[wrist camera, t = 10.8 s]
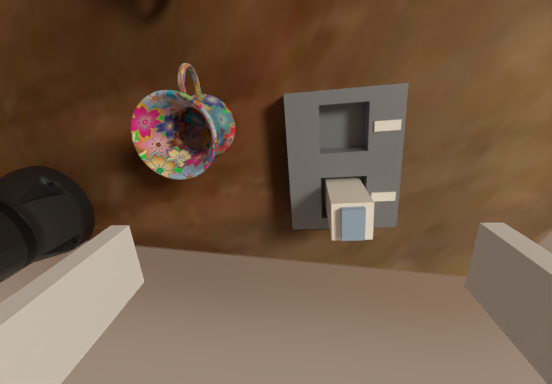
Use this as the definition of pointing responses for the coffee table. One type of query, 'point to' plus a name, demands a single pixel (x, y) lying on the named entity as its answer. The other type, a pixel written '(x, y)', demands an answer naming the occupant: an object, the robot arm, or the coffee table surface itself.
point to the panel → (345, 148)
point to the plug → (349, 209)
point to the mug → (181, 129)
